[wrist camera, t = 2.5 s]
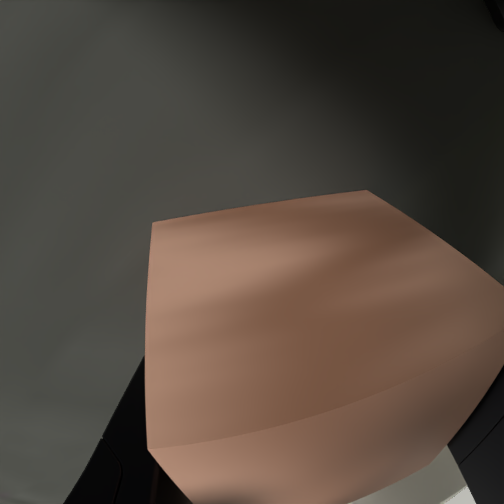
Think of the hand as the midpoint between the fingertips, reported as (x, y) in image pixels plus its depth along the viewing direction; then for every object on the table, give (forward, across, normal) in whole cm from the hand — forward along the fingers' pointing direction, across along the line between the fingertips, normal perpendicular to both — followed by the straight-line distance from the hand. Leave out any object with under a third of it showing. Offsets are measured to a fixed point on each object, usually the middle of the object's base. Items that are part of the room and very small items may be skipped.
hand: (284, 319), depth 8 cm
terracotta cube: (+1, 0, 0) cm, 1 cm away
